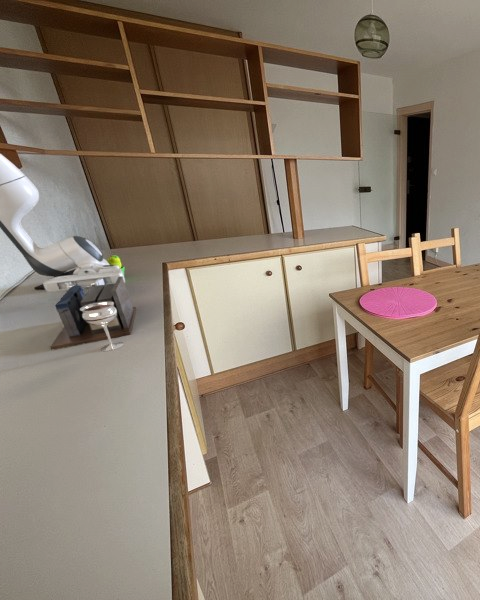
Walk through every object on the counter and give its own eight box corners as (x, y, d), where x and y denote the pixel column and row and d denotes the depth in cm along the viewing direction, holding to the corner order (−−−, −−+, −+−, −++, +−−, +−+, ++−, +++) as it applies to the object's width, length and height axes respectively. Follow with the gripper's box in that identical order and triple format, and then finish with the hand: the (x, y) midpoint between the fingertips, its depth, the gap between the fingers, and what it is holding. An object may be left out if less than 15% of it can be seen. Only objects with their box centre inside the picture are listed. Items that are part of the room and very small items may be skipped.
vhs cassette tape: (82, 315, 101) (70, 286, 98) (94, 313, 103) (83, 284, 99) (66, 338, 87) (52, 305, 83) (80, 335, 89) (67, 303, 85)
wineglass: (129, 346, 86) (115, 306, 81) (96, 355, 81) (79, 313, 77) (126, 338, 90) (113, 299, 86) (94, 346, 85) (78, 305, 81)
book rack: (51, 350, 83) (31, 305, 78) (71, 320, 100) (55, 281, 95) (130, 334, 92) (116, 293, 87) (136, 309, 109) (125, 273, 104)
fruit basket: (108, 278, 140) (99, 253, 135) (132, 276, 142) (124, 252, 138) (94, 286, 130) (84, 259, 125) (120, 284, 132) (111, 258, 128)
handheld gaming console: (49, 277, 133) (59, 259, 131) (71, 286, 137) (80, 268, 135) (31, 290, 124) (40, 271, 121) (54, 298, 127) (64, 280, 125)
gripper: (46, 272, 107) (33, 282, 97) (123, 264, 118) (119, 273, 108) (53, 289, 110) (41, 301, 99) (128, 280, 121) (124, 290, 110)
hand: (82, 286), depth 104 cm, fingers open, 4 cm apart
